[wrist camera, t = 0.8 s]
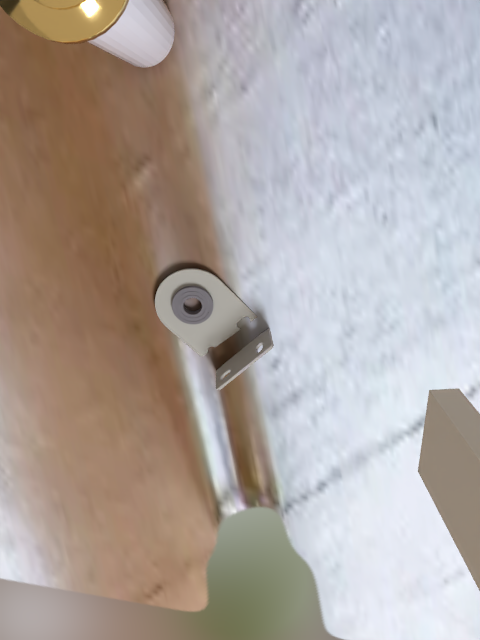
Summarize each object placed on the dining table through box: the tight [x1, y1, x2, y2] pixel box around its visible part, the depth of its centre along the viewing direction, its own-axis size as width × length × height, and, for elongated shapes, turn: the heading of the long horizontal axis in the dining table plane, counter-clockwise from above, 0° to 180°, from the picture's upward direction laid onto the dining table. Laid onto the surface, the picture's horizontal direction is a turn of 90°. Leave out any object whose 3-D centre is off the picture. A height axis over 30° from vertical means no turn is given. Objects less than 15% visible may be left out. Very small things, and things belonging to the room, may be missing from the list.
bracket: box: [155, 268, 273, 390], centre depth 39 cm, size 7×10×4 cm, turn 43°
